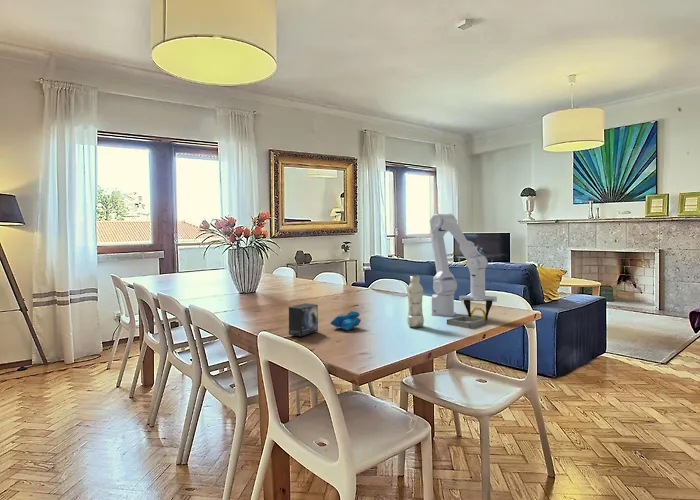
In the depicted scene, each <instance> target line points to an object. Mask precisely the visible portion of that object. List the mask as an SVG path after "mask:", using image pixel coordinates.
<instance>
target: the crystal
mask: <svg viewBox="0 0 700 500" xmlns="http://www.w3.org/2000/svg"><path fill="white" fill-rule="evenodd" d="M359 316H360V313H359V311H353V310H351V311H349V312H348V313H347V314H345V315H337V316H335V317H334V318H333V319H332V320H331V322H330V325H331V326H333V327H335V328H340V329H343V330H345V331H349V330H351V329H353V328H356V327H357V326H359V325H360V323H361V321H362V320H361V318H359Z"/></svg>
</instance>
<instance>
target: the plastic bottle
mask: <svg viewBox="0 0 700 500" xmlns="http://www.w3.org/2000/svg"><path fill="white" fill-rule="evenodd" d="M409 277H410V278H409V281H410V283H409V284H408V286H407V288H406V295H407V299H408V300H407V303H408V309H407V310H408V313H407V320H406V321H407V325H408V327H410V328H422V327H423V326H424V322H425V319H424V314H423V295H424V287H423V285H421V282H420V281H421V279H420V275H410V276H409Z"/></svg>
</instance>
